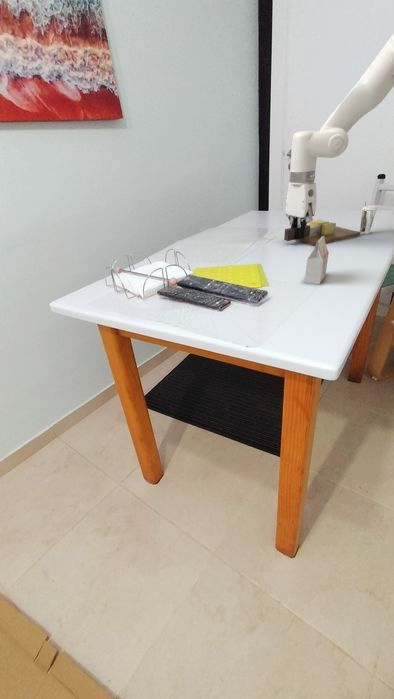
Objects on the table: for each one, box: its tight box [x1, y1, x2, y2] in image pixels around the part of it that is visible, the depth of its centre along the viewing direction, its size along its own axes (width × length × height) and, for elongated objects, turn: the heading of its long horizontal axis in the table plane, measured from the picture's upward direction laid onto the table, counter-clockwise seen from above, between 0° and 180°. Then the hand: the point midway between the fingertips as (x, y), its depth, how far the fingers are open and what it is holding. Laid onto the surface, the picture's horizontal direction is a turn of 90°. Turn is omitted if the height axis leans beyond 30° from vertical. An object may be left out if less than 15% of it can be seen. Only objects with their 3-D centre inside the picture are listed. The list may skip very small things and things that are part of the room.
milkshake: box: [359, 200, 378, 235], centre depth 117 cm, size 4×5×10 cm
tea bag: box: [304, 236, 330, 285], centre depth 84 cm, size 4×7×10 cm, turn 151°
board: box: [297, 225, 361, 247], centre depth 119 cm, size 20×14×1 cm
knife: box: [283, 222, 337, 242], centre depth 115 cm, size 21×2×4 cm, turn 114°
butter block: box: [307, 218, 330, 234], centre depth 120 cm, size 4×6×4 cm, turn 24°
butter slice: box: [321, 221, 335, 235], centre depth 116 cm, size 4×1×4 cm, turn 114°
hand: (296, 237), depth 114 cm, fingers closed on knife, 2 cm apart
